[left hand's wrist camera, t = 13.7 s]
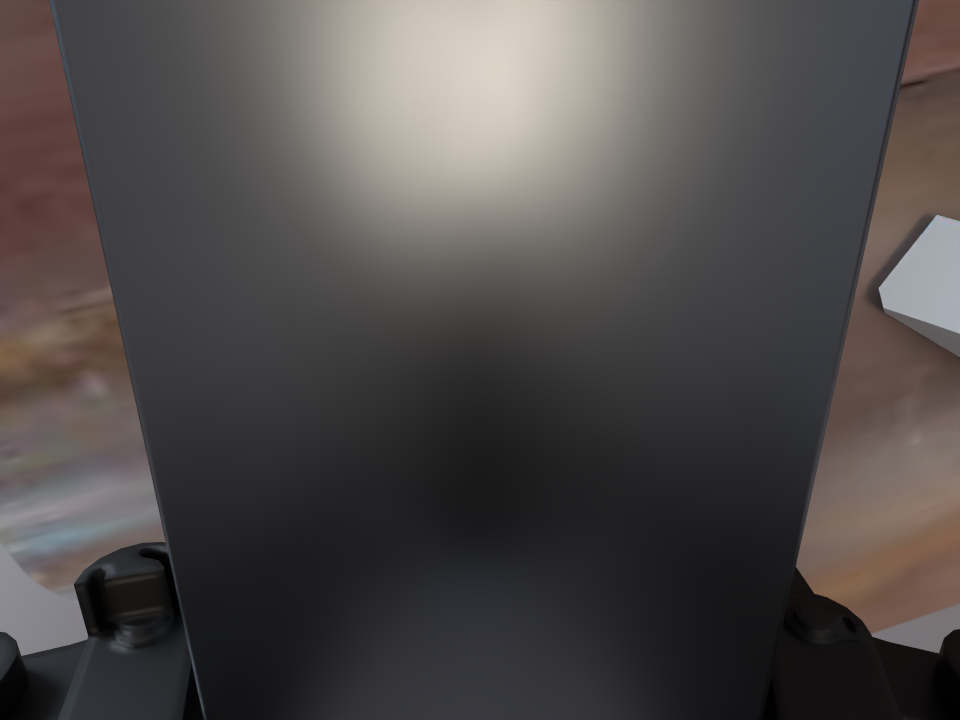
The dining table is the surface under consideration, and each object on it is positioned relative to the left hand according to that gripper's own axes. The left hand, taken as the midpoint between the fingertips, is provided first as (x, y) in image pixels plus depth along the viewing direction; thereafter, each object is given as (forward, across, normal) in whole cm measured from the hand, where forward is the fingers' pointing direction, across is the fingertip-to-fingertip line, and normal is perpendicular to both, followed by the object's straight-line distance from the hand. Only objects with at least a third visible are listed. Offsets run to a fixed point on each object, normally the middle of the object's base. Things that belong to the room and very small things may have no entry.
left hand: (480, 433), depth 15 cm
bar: (+1, 0, -8) cm, 8 cm away
